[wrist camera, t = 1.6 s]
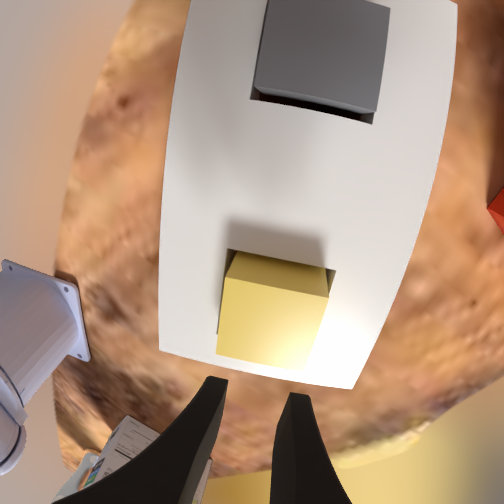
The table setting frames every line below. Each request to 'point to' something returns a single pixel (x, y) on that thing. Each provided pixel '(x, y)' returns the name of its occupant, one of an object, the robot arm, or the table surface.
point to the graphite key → (324, 52)
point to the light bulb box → (132, 452)
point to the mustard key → (271, 310)
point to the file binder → (498, 210)
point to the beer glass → (79, 474)
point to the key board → (297, 182)
